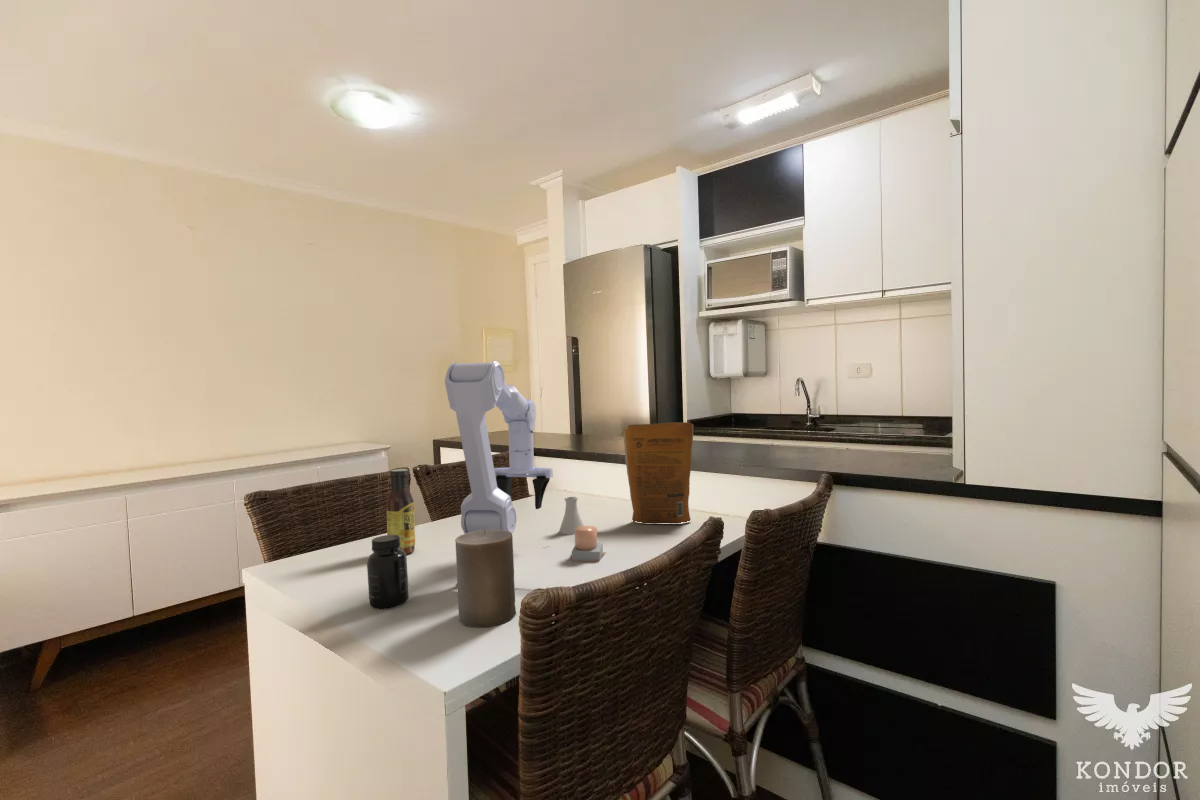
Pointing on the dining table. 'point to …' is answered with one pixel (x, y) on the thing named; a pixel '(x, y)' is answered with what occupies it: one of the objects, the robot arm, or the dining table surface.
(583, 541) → the terracotta cylinder
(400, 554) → the supplement bottle
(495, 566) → the pillar candle
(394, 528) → the sauce bottle
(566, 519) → the flask
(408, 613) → the dining table surface
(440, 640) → the dining table surface
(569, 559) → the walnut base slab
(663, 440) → the pancake mix bag
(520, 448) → the robot arm
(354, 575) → the dining table surface
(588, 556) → the slate top block
